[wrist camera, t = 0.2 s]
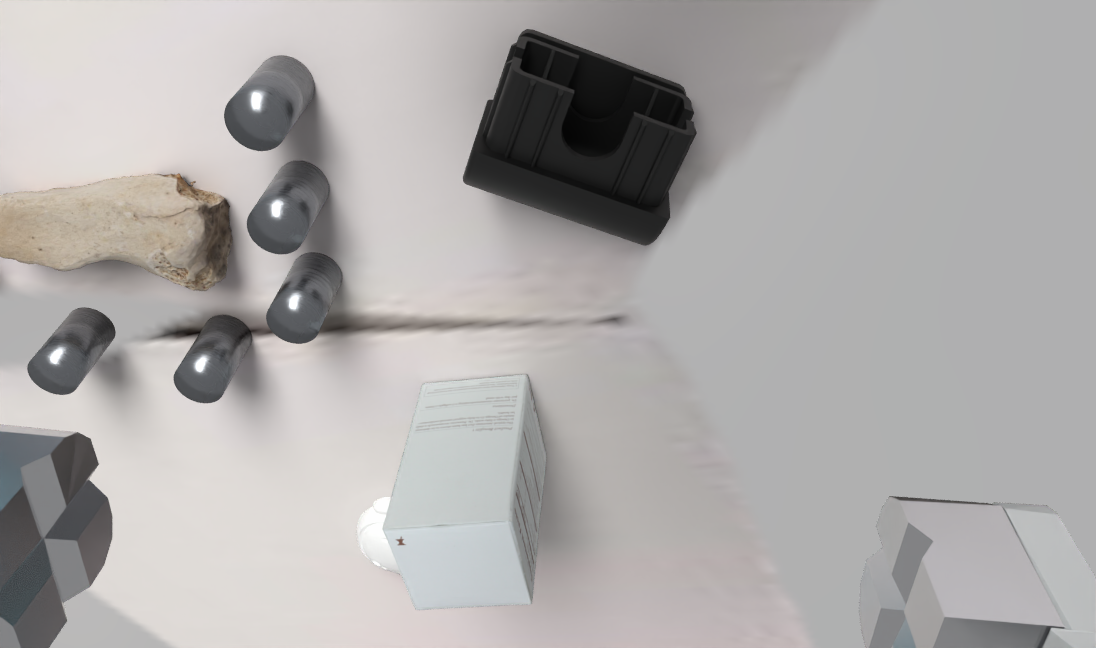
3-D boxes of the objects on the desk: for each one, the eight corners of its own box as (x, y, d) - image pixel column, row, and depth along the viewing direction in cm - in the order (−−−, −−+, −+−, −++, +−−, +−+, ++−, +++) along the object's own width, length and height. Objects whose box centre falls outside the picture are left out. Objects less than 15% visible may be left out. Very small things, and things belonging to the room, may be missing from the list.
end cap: (473, 143, 50) (454, 204, 45) (513, 21, 46) (497, 72, 41) (644, 203, 51) (645, 269, 46) (697, 90, 47) (706, 147, 42)
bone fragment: (227, 170, 52) (195, 211, 49) (241, 263, 56) (212, 308, 52) (-8, 144, 52) (-58, 183, 49) (22, 239, 56) (-22, 282, 53)
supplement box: (445, 461, 64) (410, 613, 54) (420, 379, 60) (377, 528, 50) (549, 454, 63) (533, 609, 53) (531, 371, 59) (510, 521, 49)
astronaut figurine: (515, 572, 72) (511, 605, 69) (363, 560, 72) (354, 592, 70) (516, 494, 66) (512, 526, 64) (352, 482, 67) (341, 514, 65)
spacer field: (-152, 38, 49) (-223, 73, 45) (310, 56, 48) (280, 94, 44) (-20, 338, 61) (-66, 387, 57) (354, 359, 60) (333, 410, 56)
